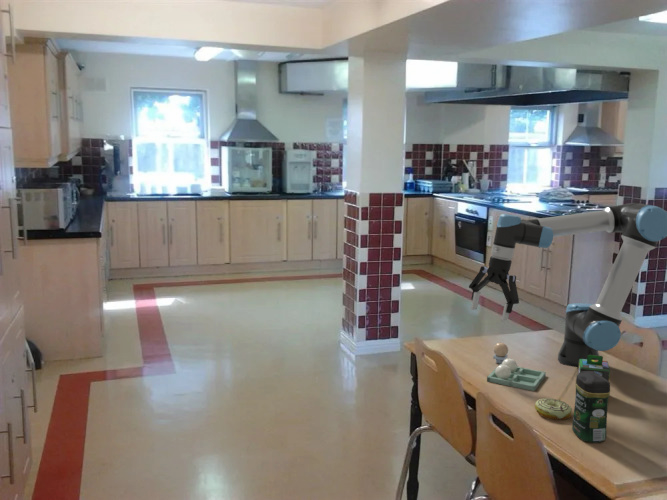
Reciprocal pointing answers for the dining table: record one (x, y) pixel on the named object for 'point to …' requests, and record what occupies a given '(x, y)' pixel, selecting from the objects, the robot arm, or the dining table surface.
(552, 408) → the decorated donut
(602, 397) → the coffee jar
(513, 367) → the cream egg
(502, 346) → the brown egg
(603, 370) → the chalk box
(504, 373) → the cream egg
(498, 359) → the egg cup
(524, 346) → the dining table surface
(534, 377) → the carton
